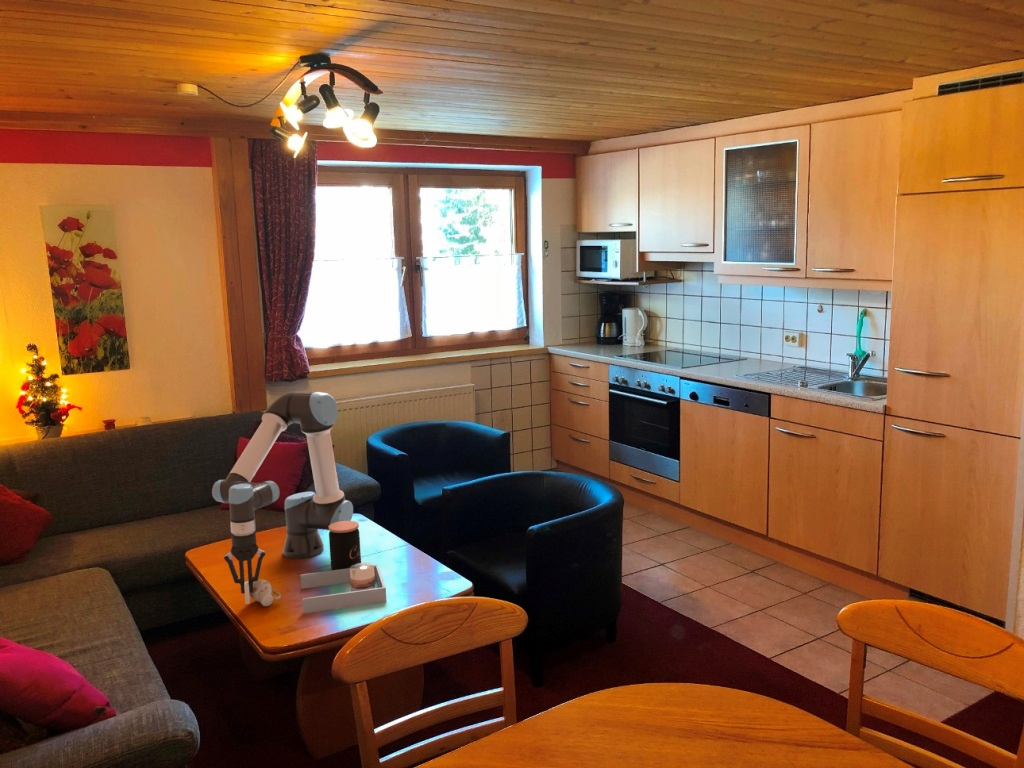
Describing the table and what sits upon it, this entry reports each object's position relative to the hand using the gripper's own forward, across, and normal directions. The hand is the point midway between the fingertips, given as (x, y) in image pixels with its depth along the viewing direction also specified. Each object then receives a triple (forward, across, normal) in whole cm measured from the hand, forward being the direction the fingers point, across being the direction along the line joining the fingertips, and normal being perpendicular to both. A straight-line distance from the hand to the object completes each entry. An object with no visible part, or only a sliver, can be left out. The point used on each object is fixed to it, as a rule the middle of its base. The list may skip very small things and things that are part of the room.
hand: (247, 602), depth 266 cm
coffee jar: (+1, +33, +18) cm, 38 cm away
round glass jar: (+1, +37, -1) cm, 37 cm away
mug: (+2, +8, -1) cm, 8 cm away
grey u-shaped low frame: (+1, +30, -1) cm, 30 cm away
